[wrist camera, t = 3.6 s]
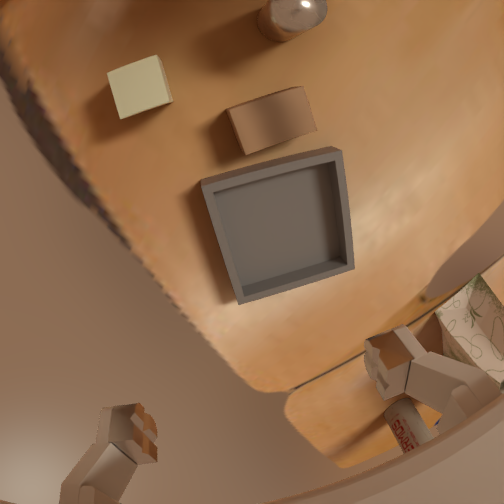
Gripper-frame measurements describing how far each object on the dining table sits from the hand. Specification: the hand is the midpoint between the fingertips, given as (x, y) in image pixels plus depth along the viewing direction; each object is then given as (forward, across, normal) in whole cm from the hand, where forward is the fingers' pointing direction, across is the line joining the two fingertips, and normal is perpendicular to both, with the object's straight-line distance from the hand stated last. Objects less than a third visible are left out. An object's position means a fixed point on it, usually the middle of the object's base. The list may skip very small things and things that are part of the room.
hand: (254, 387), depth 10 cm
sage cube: (+29, +4, -12) cm, 32 cm away
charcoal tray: (+29, -7, +8) cm, 31 cm away
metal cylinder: (+29, -12, -16) cm, 35 cm away
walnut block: (+29, -8, -5) cm, 31 cm away
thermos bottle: (+29, -28, +66) cm, 77 cm away
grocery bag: (+30, -45, +47) cm, 71 cm away
